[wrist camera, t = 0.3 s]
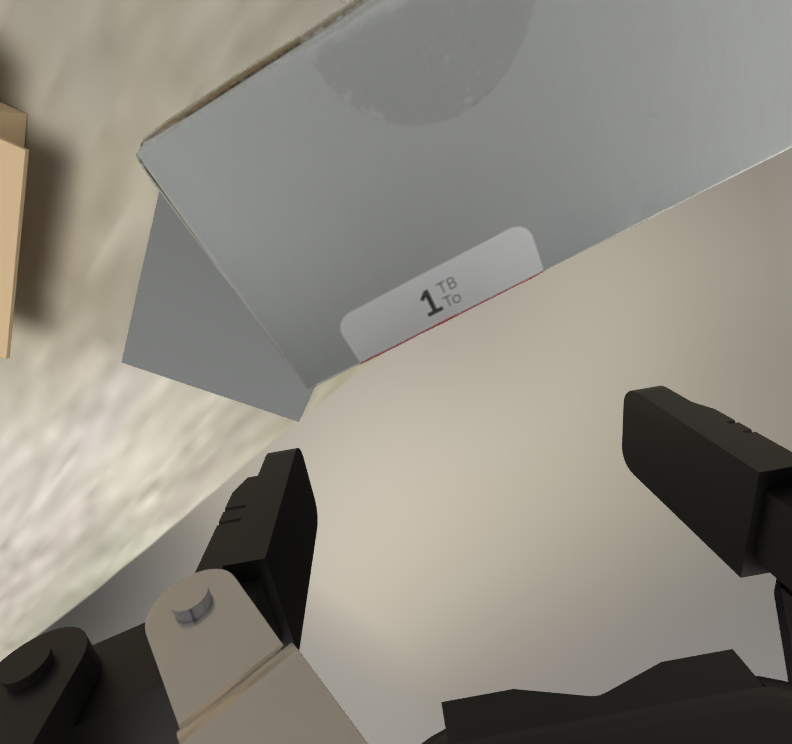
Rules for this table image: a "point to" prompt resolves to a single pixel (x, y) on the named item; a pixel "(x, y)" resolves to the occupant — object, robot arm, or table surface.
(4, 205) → the carton
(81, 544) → the table surface
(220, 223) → the hard drive box
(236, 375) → the coaster
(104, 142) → the table surface
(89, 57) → the table surface
